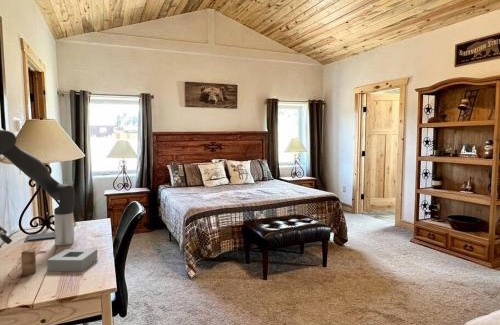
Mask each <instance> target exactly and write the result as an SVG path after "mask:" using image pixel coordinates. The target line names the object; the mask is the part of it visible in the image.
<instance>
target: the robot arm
mask: <svg viewBox="0 0 500 325" xmlns="http://www.w3.org/2000/svg"><path fill="white" fill-rule="evenodd" d="M16 143H17V136H16V135H15V133H14V132H12V131H10V130H6V129H0V156H1V155H2V156H3V157H5V158H6V159H7V160H9V162H10V163H12V164H13V165H14V166H15V167H16V168H18V170H20V171H21V172H22V173H23V174H24V175H25V176H26V177H28V178H29V179H30V180H32V181H33V182H35V184H37V185H39V186H40V187H41V188H42V189H43V190H44V191H45V192H46V193H47V194H48V195H49V197H51V198H52V199H53V200H55V201H59V202H58V204H59V205H58V206H57V207H55V208H54V209H53V213H54V214H53V215H54V232H55V239H54V245H55V246H61V247H62V246H68V245H72V244H74V242H75V226H74V223H73V217H74V208H75V206H76V190H75V188H74V186H73V185H71V184H64V183H60V182H58V181H57V180H56V179H54V178H53V177H52V175H51V174H50V173H51V172H50V171H49V169H48V167H47V166H46V165H45V164H44V163H43V162H42V161H41V160H40V159H38V158H37V157H35V156H34V155H33V154H31V153H29V152H27V151H25V150H24V149H22V148H20V147H19V146H17V145H16ZM7 234H8V231H7V230H6V229H4V227H1V225H0V240H2V241H3V242H4V243H5V244H7V245H10V244H11V243H12V242H13V240H12V239H11V238H10V237H9V236H8V235H7ZM1 248H2V245H0V249H1Z"/></svg>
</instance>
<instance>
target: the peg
mask: <svg viewBox="0 0 500 325" xmlns="http://www.w3.org/2000/svg"><path fill="white" fill-rule="evenodd" d="M20 254H21V256H20V257H21V275H22V276H31V275H34V274H36V272H37V270H36V269H37V268H36V267H37V265H36V264H37V263H36V262H37V261H36V250H35V249H27V250H23V251H21V252H20Z"/></svg>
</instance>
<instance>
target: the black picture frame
mask: <svg viewBox="0 0 500 325" xmlns="http://www.w3.org/2000/svg"><path fill="white" fill-rule="evenodd" d="M51 240H55V231H54V232H44V233H37V234H36V233H35V234H29V235H27V236H26V237H25V239H24V241H23V243H25V244H26V243H33V242H42V241H51Z"/></svg>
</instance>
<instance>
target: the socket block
mask: <svg viewBox="0 0 500 325" xmlns="http://www.w3.org/2000/svg"><path fill="white" fill-rule="evenodd" d="M96 259H97V260H98V248H97V249H96V248H65V249H63V250H62V251H61V252H59V253H57V254H54V255H53V256H52V257H50V258H47V260H46V262H47V266H46V267H47V272H83V271H84V270H85V269H86V268H88V267H90V266H91V265H92V264H93V263H95V262H96V261H97V260H96ZM95 260H96V261H95ZM92 262H93V263H92ZM91 263H92V264H91ZM90 264H91V265H90Z"/></svg>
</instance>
